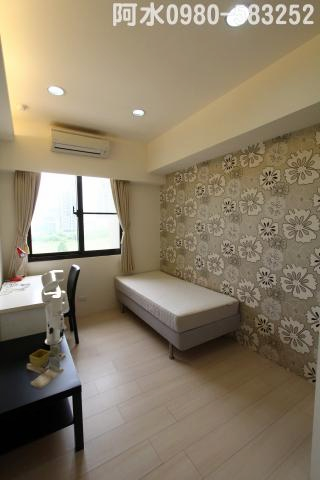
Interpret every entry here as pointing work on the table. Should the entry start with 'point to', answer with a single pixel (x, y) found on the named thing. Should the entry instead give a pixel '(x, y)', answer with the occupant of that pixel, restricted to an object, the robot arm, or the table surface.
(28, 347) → the table surface
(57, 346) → the wooden frame with block
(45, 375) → the beige l-shaped piece
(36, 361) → the flower pot
